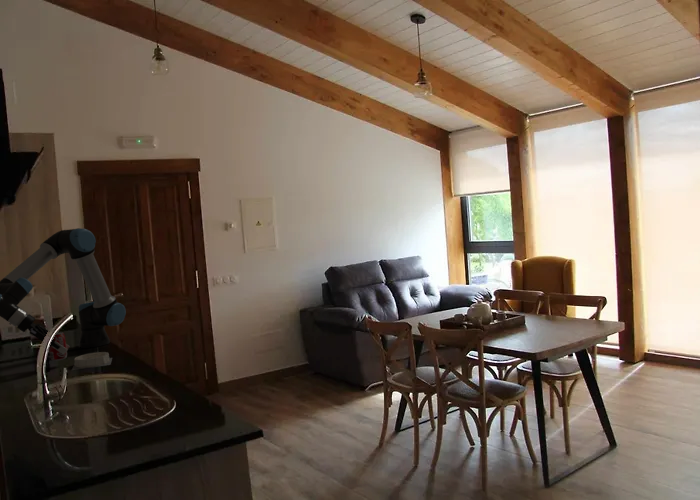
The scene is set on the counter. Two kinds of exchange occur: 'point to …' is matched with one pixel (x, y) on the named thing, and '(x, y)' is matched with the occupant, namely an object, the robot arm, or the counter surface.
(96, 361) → the bowl
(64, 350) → the robot arm
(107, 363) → the mat
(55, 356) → the soda can
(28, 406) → the counter surface
